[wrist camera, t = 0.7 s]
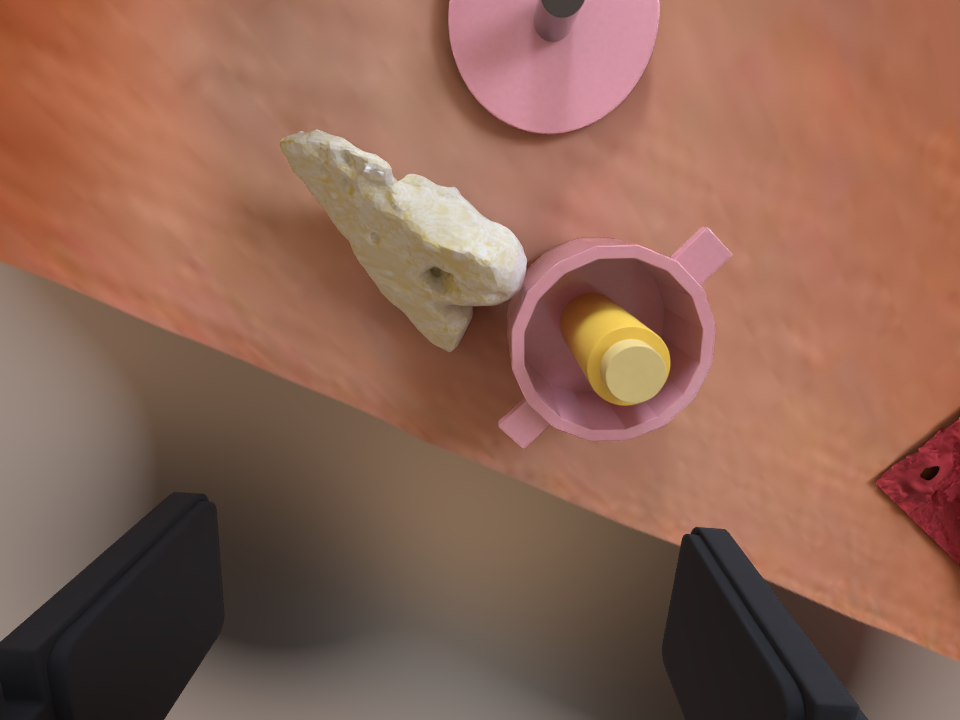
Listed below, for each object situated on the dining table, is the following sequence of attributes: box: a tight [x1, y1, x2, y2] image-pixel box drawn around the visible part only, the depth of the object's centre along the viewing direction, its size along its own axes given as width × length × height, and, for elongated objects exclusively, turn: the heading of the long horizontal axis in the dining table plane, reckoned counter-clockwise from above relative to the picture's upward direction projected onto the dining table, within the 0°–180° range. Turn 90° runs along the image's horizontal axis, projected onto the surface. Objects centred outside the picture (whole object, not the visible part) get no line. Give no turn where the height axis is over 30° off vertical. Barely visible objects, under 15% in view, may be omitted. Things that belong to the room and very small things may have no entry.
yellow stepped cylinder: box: [560, 293, 670, 405], centre depth 34 cm, size 5×5×13 cm
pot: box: [498, 227, 732, 449], centre depth 37 cm, size 13×18×8 cm
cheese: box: [280, 129, 527, 352], centre depth 36 cm, size 15×7×15 cm
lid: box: [448, 0, 659, 134], centre depth 33 cm, size 14×14×6 cm
